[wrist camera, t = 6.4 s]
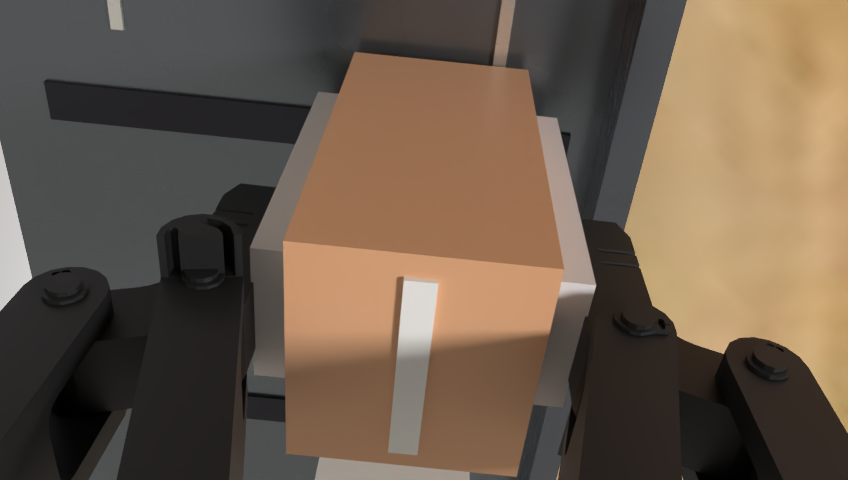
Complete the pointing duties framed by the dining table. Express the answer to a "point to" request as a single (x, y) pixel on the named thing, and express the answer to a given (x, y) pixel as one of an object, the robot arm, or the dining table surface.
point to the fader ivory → (380, 471)
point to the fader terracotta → (421, 270)
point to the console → (284, 127)
